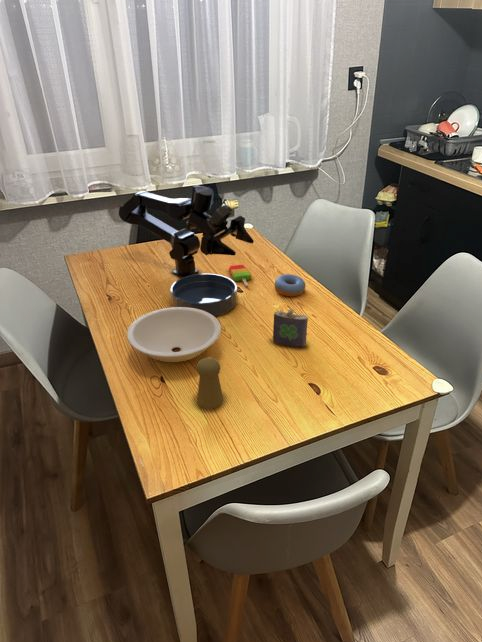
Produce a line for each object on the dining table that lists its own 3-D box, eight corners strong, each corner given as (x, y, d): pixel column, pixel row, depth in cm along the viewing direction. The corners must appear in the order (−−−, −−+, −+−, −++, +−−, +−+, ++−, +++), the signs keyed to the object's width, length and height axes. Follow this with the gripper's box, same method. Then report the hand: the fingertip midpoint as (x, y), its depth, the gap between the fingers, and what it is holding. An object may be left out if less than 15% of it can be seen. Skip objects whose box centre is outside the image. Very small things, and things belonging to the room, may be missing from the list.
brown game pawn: (197, 392, 117) (194, 354, 111) (223, 391, 117) (221, 353, 112) (196, 409, 112) (193, 370, 106) (223, 408, 112) (222, 369, 106)
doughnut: (310, 294, 159) (311, 282, 157) (283, 301, 156) (283, 288, 153) (295, 282, 167) (296, 269, 164) (269, 287, 163) (269, 275, 161)
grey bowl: (145, 388, 118) (141, 366, 114) (120, 339, 136) (116, 318, 132) (236, 362, 127) (236, 341, 124) (202, 319, 145) (200, 299, 142)
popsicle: (243, 268, 175) (243, 263, 174) (255, 287, 163) (255, 282, 162) (228, 270, 174) (228, 265, 173) (239, 289, 162) (239, 284, 161)
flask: (306, 343, 135) (309, 309, 130) (304, 349, 133) (306, 314, 127) (274, 338, 137) (275, 304, 132) (271, 343, 135) (272, 309, 129)
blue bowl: (158, 303, 153) (156, 289, 150) (204, 281, 166) (203, 268, 164) (205, 326, 142) (204, 310, 140) (250, 300, 156) (250, 286, 153)
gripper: (188, 212, 145) (229, 238, 141) (228, 192, 157) (267, 215, 152) (185, 243, 153) (223, 268, 148) (222, 221, 165) (260, 244, 160)
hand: (244, 248), depth 152 cm, fingers open, 9 cm apart
